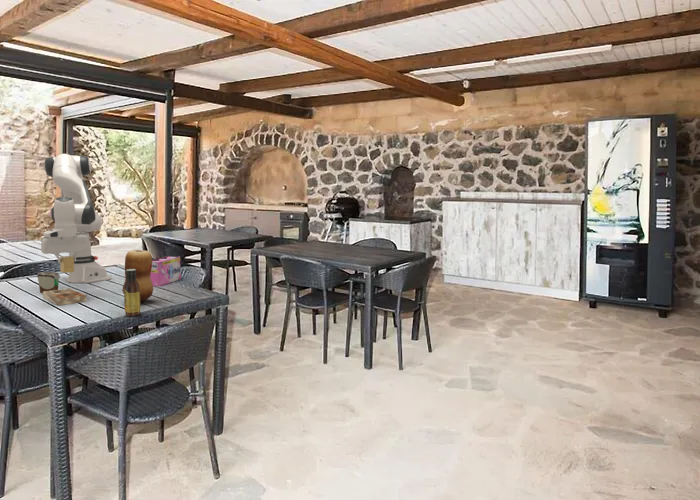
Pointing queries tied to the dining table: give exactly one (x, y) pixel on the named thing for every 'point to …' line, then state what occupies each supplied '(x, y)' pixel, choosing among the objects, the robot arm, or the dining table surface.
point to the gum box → (165, 270)
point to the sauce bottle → (131, 294)
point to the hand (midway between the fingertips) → (66, 261)
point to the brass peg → (67, 264)
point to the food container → (48, 281)
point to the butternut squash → (140, 271)
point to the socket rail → (64, 296)
